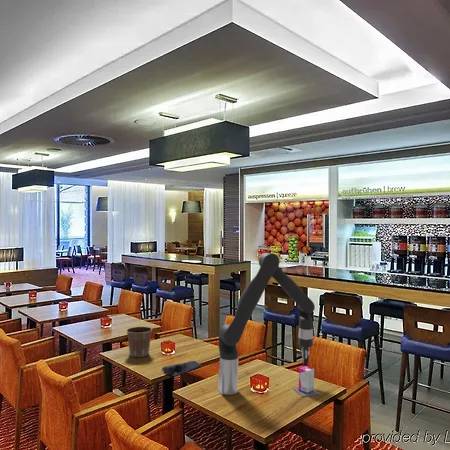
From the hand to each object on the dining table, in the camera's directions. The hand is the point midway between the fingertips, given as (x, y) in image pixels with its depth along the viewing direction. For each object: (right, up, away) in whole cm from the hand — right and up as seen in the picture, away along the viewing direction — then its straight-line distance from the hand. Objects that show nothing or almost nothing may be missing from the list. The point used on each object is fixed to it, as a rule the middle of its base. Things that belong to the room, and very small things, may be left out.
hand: (305, 369), depth 215 cm
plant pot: (-98, -7, +45) cm, 108 cm away
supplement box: (-1, -8, -9) cm, 12 cm away
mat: (-1, -8, -9) cm, 12 cm away
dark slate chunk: (-68, -8, +20) cm, 71 cm away
